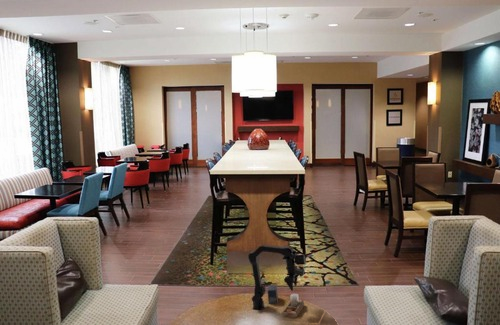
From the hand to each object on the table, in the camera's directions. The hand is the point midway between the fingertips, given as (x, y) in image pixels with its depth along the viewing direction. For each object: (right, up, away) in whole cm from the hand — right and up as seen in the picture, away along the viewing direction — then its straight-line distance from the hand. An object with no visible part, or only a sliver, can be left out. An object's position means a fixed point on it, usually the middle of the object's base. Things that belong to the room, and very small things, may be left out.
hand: (294, 288), depth 296 cm
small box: (-13, -15, +19) cm, 28 cm away
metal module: (+1, -14, +2) cm, 14 cm away
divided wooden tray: (0, -15, -2) cm, 15 cm away
